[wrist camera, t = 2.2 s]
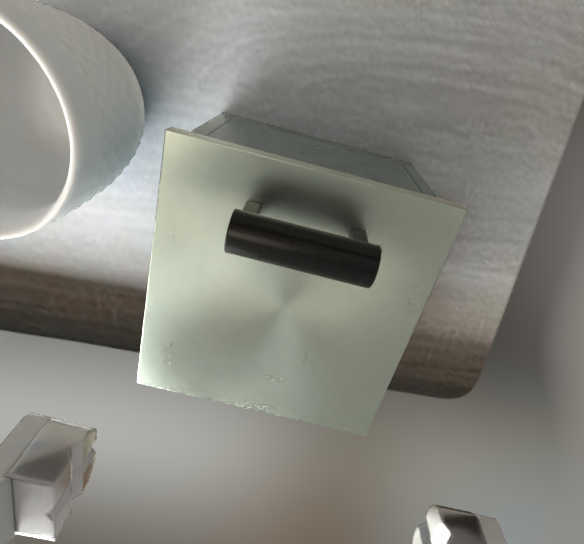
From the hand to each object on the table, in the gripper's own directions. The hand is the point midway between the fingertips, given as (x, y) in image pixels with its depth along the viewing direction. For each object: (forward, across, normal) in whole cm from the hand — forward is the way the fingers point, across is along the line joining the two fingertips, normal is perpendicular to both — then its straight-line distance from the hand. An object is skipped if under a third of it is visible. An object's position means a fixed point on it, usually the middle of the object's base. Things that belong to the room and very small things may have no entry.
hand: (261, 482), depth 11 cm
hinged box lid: (+13, 0, +3) cm, 13 cm away
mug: (+25, +17, -3) cm, 30 cm away
